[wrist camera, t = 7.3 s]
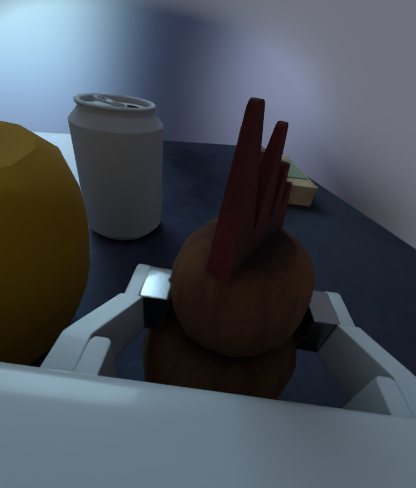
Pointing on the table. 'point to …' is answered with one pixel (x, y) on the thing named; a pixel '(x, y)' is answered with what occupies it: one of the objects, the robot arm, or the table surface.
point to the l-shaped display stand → (297, 184)
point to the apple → (38, 245)
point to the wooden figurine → (238, 283)
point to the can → (118, 163)
